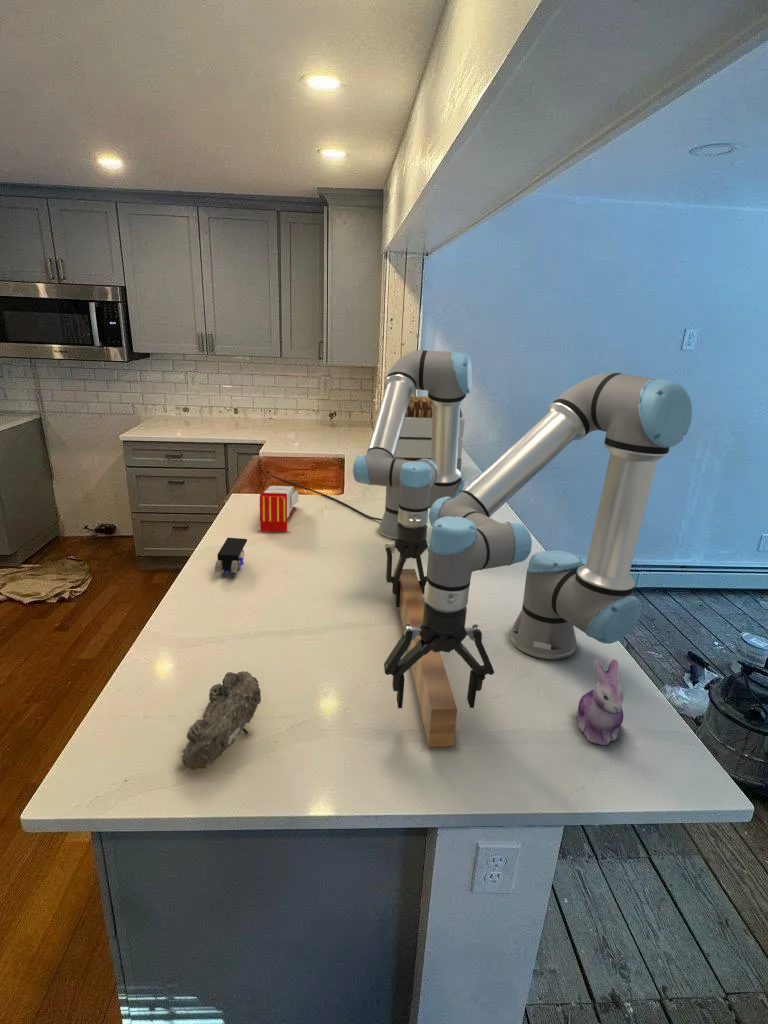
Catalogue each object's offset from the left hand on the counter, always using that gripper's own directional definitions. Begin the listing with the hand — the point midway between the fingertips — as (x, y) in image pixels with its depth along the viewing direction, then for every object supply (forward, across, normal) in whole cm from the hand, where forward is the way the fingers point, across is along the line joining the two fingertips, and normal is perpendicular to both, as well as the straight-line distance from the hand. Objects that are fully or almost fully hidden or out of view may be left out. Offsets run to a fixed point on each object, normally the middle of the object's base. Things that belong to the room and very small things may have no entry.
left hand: (407, 604), depth 151 cm
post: (+1, 0, -23) cm, 23 cm away
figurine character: (+1, -50, +22) cm, 54 cm away
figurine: (+1, +32, -48) cm, 57 cm away
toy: (+1, -40, +66) cm, 77 cm away
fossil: (+1, -39, -46) cm, 60 cm away
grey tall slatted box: (+1, +22, +130) cm, 132 cm away
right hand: (-4, 0, -46) cm, 46 cm away
